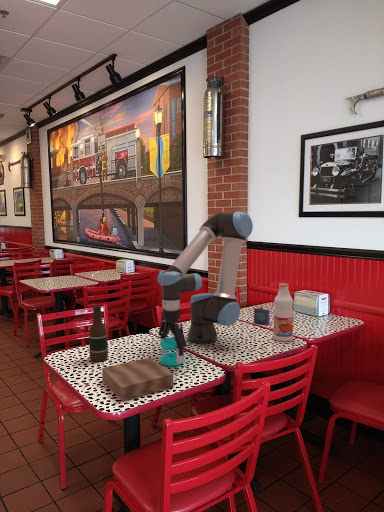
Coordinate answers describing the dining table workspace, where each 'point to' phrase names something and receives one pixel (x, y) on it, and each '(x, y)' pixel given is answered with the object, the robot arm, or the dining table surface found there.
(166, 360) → the donuts
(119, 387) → the walnut stand
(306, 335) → the dining table surface
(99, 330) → the beer bottle
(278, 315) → the fruit juice
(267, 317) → the flask
